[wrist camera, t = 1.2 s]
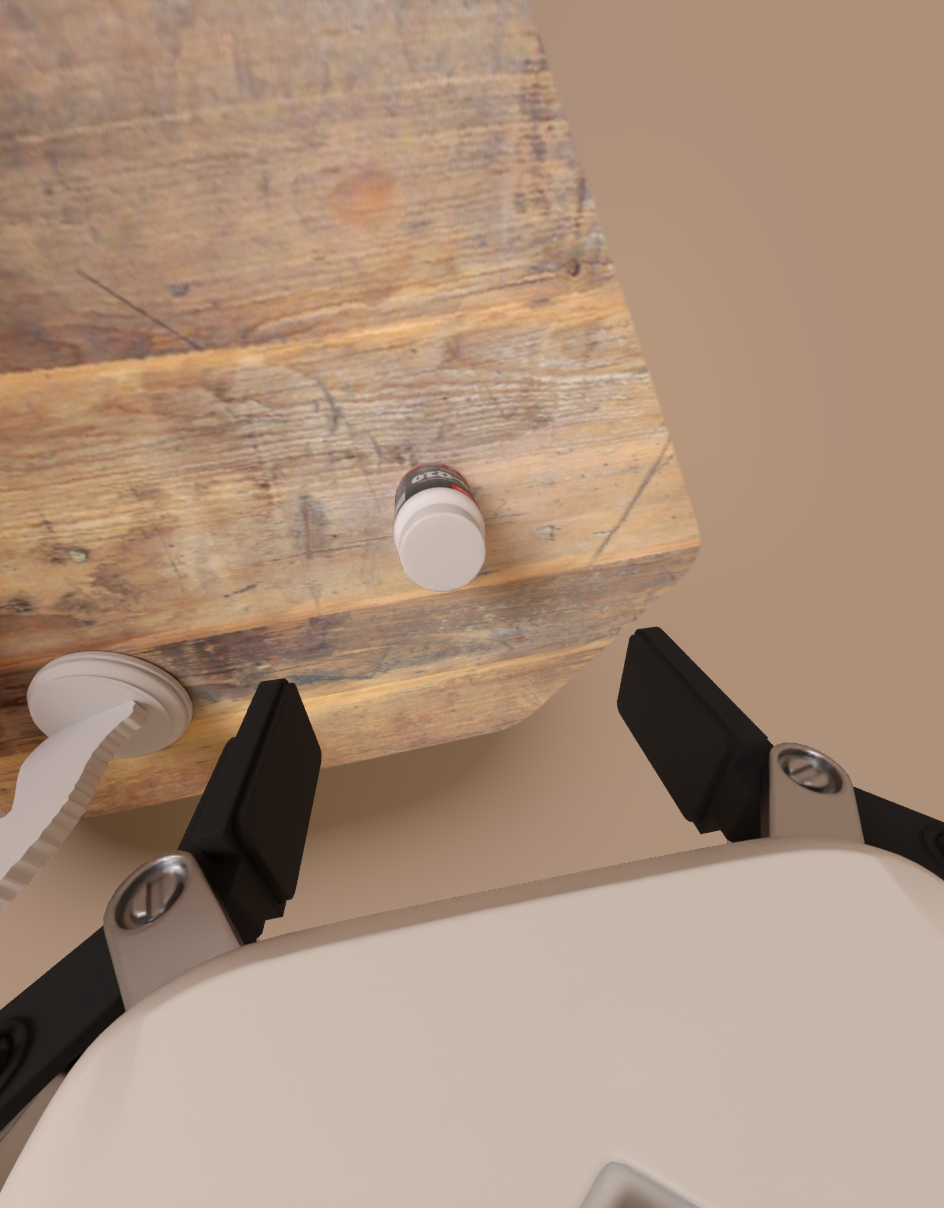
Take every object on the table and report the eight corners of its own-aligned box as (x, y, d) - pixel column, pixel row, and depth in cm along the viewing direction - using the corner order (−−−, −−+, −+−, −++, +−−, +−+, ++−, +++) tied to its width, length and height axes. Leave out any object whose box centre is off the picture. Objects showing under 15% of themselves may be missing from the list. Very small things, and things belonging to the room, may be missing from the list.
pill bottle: (478, 471, 25) (509, 517, 18) (459, 540, 27) (479, 605, 20) (402, 451, 23) (403, 492, 16) (389, 526, 26) (384, 590, 19)
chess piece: (-2, 681, 27) (-346, 959, 15) (123, 630, 27) (-124, 874, 14) (115, 760, 33) (-65, 1014, 20) (221, 719, 32) (106, 953, 19)
